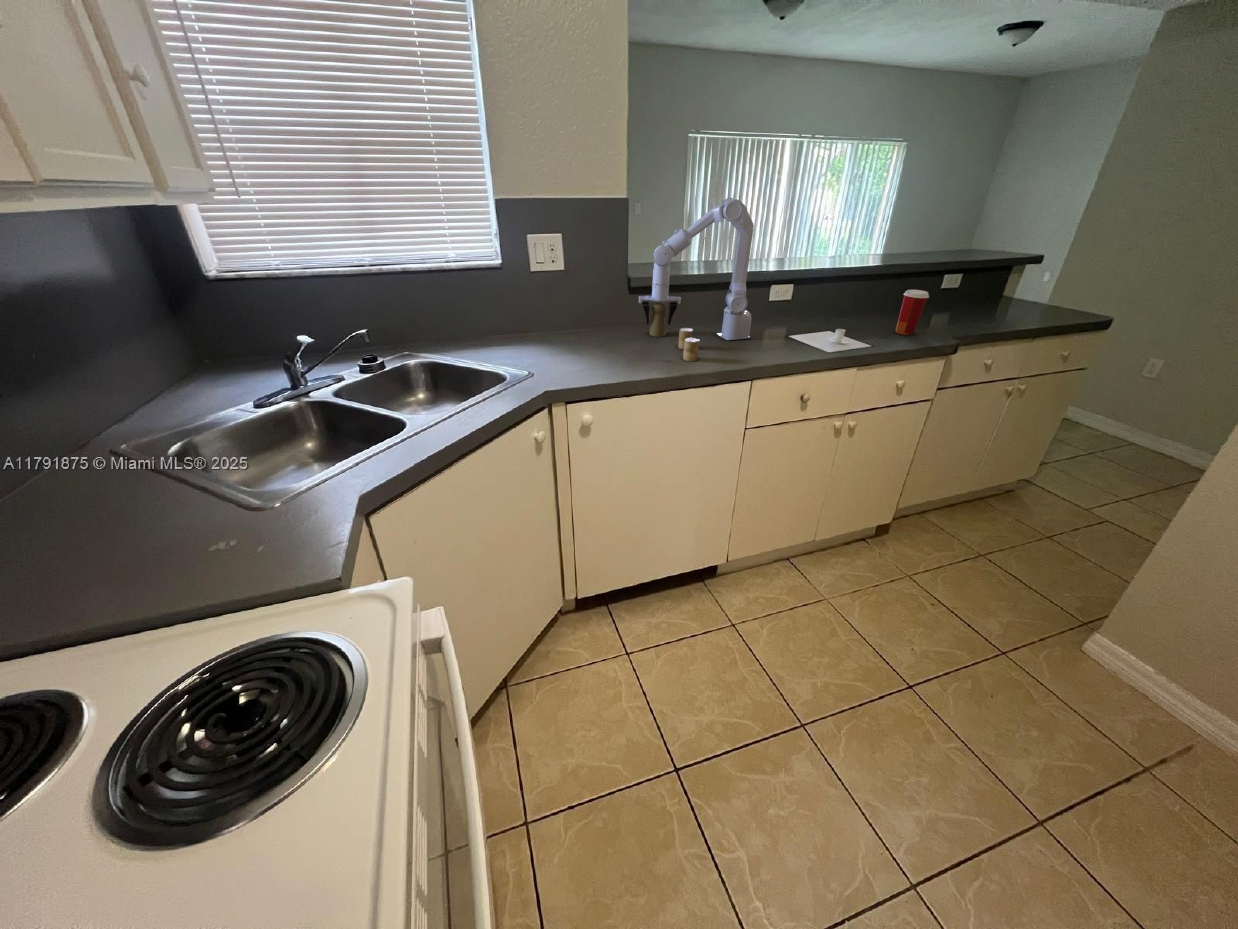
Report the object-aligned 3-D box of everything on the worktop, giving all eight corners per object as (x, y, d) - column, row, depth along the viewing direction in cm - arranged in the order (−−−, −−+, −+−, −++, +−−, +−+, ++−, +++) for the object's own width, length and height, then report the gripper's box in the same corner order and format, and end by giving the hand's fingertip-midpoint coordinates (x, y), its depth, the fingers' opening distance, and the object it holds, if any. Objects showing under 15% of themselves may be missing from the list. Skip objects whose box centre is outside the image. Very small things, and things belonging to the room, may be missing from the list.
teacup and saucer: (836, 346, 167) (839, 334, 165) (819, 339, 173) (822, 328, 171) (855, 343, 170) (858, 331, 168) (837, 337, 176) (840, 326, 174)
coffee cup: (917, 332, 185) (931, 291, 177) (915, 337, 179) (929, 294, 171) (893, 328, 189) (905, 288, 181) (890, 333, 183) (903, 291, 175)
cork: (666, 332, 178) (668, 301, 172) (665, 336, 172) (668, 305, 167) (649, 331, 178) (651, 300, 172) (648, 336, 173) (650, 304, 167)
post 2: (692, 356, 155) (694, 337, 152) (699, 360, 151) (701, 341, 148) (680, 357, 153) (682, 338, 150) (687, 361, 150) (688, 342, 147)
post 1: (687, 344, 165) (689, 327, 162) (693, 348, 161) (695, 330, 158) (675, 346, 163) (677, 328, 160) (681, 350, 160) (683, 331, 157)
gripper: (680, 282, 170) (677, 321, 177) (639, 281, 170) (637, 320, 176) (683, 285, 164) (679, 326, 171) (640, 285, 163) (638, 325, 170)
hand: (658, 323), depth 173 cm, fingers open, 7 cm apart
